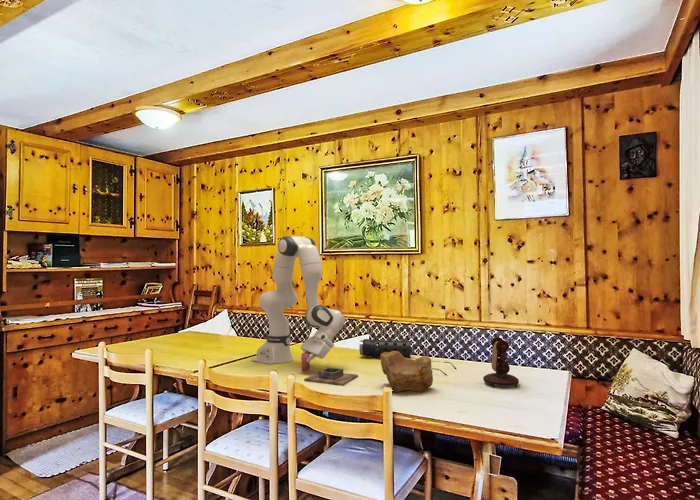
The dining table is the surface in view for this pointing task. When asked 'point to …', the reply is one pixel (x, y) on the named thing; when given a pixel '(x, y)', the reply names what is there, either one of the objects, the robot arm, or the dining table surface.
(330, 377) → the candle board
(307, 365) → the candle
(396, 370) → the rough brown rock
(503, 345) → the dark brown ornamental stand
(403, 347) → the muzzle brake
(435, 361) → the eyeglasses
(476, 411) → the dining table surface
